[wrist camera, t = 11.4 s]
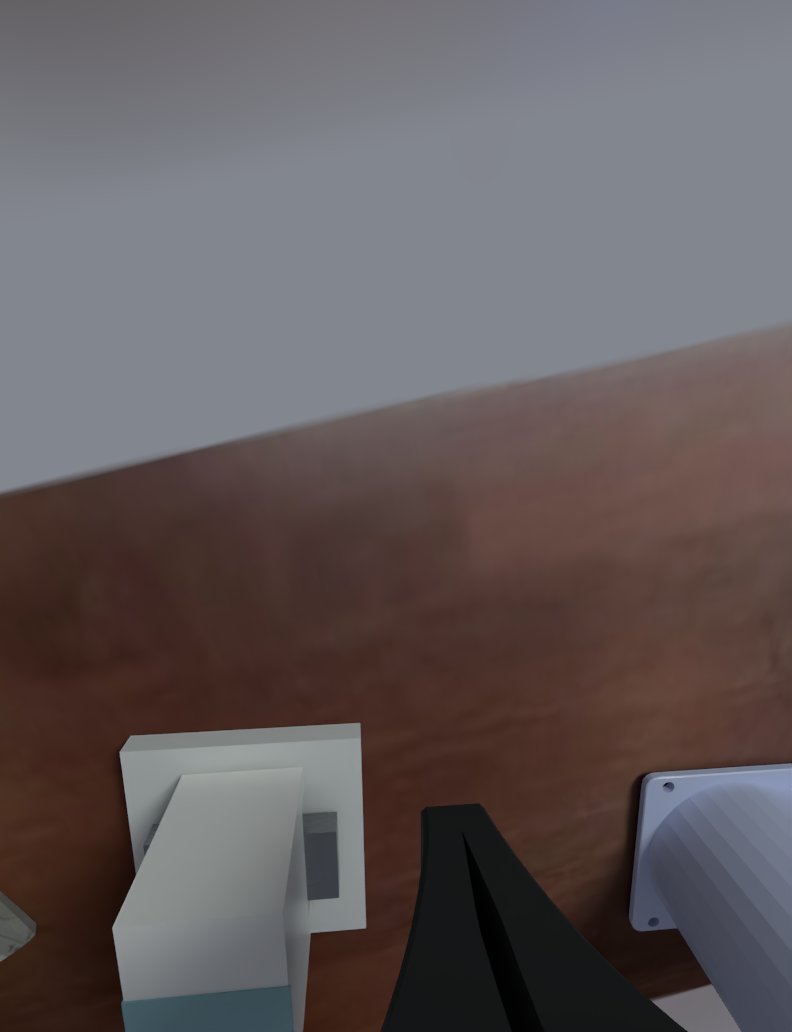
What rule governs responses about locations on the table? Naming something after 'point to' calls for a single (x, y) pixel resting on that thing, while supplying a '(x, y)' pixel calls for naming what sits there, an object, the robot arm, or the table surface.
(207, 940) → the block
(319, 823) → the dark grey flat block
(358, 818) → the base
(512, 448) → the table surface
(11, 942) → the packaged product
